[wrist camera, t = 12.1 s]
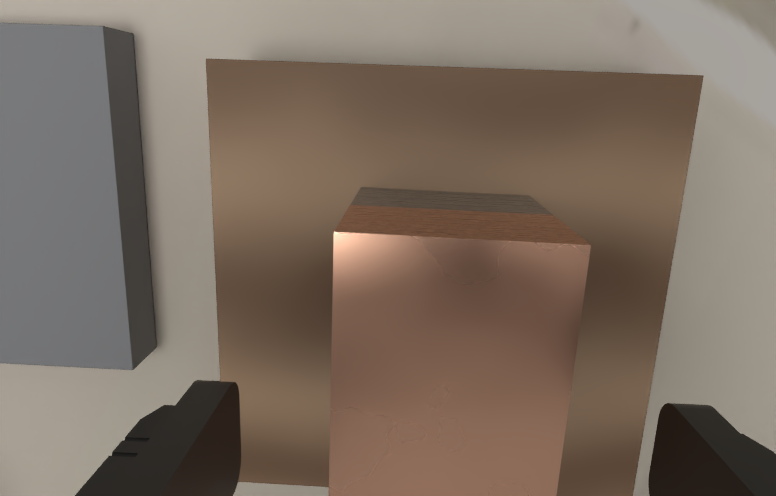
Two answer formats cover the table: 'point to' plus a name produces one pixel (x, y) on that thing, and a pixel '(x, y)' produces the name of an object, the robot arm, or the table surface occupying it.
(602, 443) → the walnut stand
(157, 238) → the table surface
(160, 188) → the table surface
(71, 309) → the rubber mat
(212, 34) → the table surface
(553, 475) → the copper rectangular block
